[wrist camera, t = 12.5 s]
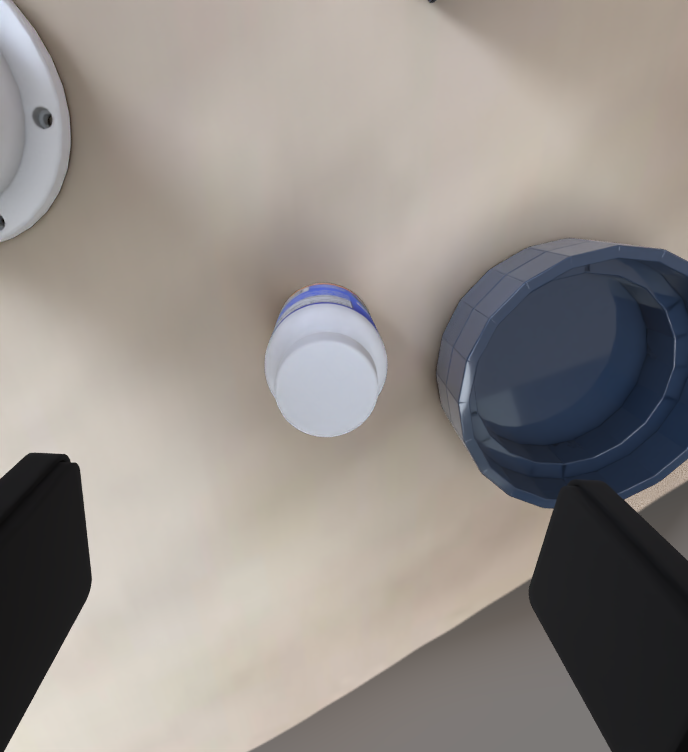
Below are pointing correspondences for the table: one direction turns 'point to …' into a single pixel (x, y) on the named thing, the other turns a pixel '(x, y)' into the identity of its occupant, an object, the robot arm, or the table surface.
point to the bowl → (571, 368)
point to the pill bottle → (325, 361)
